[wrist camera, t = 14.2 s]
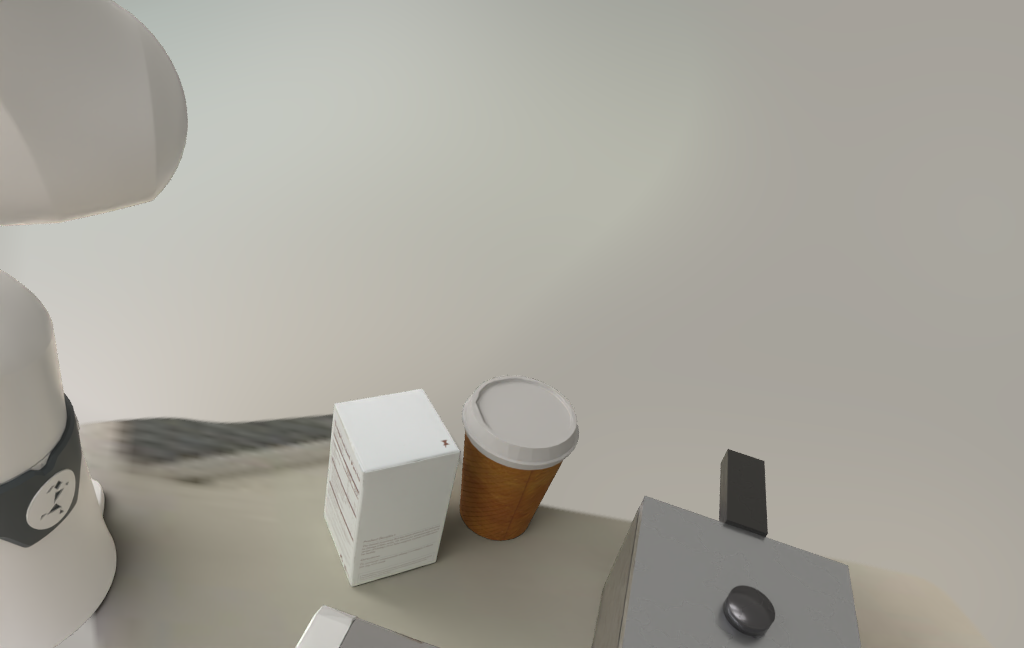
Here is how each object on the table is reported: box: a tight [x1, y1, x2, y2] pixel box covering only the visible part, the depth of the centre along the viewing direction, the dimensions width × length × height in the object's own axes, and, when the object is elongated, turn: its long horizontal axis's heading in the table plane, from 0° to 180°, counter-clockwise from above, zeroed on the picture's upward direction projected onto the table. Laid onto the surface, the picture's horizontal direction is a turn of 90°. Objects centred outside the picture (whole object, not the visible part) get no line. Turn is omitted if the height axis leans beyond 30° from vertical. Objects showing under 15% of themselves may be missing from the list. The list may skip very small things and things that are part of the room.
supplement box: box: [324, 389, 461, 587], centre depth 57 cm, size 7×7×13 cm
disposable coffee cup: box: [460, 375, 579, 541], centre depth 63 cm, size 10×10×12 cm
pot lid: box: [618, 449, 861, 648], centre depth 51 cm, size 15×23×2 cm, turn 165°
